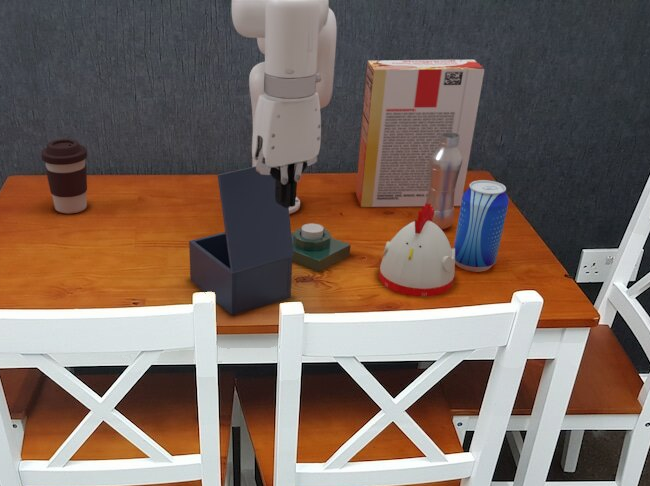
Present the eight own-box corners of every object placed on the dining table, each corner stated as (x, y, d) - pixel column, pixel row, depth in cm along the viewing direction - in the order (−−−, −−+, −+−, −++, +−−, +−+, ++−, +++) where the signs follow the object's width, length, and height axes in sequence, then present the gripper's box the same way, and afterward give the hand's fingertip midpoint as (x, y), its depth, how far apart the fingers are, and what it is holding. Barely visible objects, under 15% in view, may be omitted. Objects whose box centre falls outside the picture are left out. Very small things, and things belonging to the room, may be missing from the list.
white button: (296, 236, 157) (297, 228, 156) (310, 229, 159) (311, 221, 158) (313, 242, 154) (314, 234, 153) (327, 235, 157) (328, 227, 156)
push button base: (272, 253, 160) (273, 233, 157) (304, 238, 166) (305, 218, 163) (318, 272, 153) (319, 251, 150) (349, 255, 159) (351, 235, 156)
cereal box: (452, 192, 186) (474, 59, 169) (460, 205, 179) (484, 68, 162) (355, 193, 186) (367, 60, 169) (360, 206, 179) (374, 69, 162)
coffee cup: (40, 213, 177) (30, 147, 169) (64, 197, 185) (55, 133, 176) (78, 219, 174) (70, 153, 166) (100, 203, 182) (94, 139, 173)
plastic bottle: (452, 234, 167) (468, 141, 155) (420, 231, 168) (433, 139, 157) (451, 222, 172) (466, 131, 161) (420, 219, 173) (433, 129, 162)
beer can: (487, 277, 151) (504, 198, 142) (445, 267, 154) (458, 189, 145) (500, 260, 156) (516, 183, 147) (459, 251, 160) (472, 175, 151)
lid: (217, 174, 129) (219, 174, 128) (281, 160, 134) (283, 160, 133) (230, 271, 135) (232, 272, 134) (291, 254, 140) (293, 255, 139)
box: (190, 280, 150) (188, 240, 146) (246, 265, 156) (246, 226, 151) (231, 315, 139) (231, 274, 135) (290, 298, 144) (292, 257, 140)
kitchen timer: (367, 284, 148) (375, 210, 140) (394, 256, 158) (404, 185, 150) (438, 303, 142) (451, 226, 134) (462, 273, 152) (476, 200, 144)
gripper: (316, 73, 120) (310, 188, 131) (232, 86, 114) (232, 206, 124) (346, 84, 115) (337, 202, 125) (260, 98, 109) (258, 222, 119)
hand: (285, 204), depth 125 cm, fingers closed
